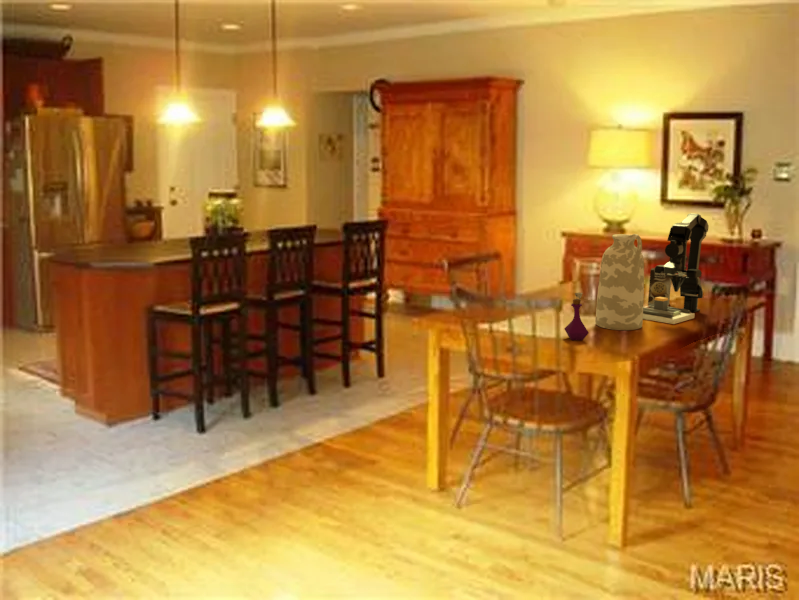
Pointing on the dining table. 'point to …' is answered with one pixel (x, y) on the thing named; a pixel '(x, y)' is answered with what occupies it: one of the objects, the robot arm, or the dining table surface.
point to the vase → (621, 285)
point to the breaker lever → (661, 303)
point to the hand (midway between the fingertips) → (676, 291)
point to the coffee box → (658, 286)
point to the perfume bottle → (576, 322)
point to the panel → (667, 314)
